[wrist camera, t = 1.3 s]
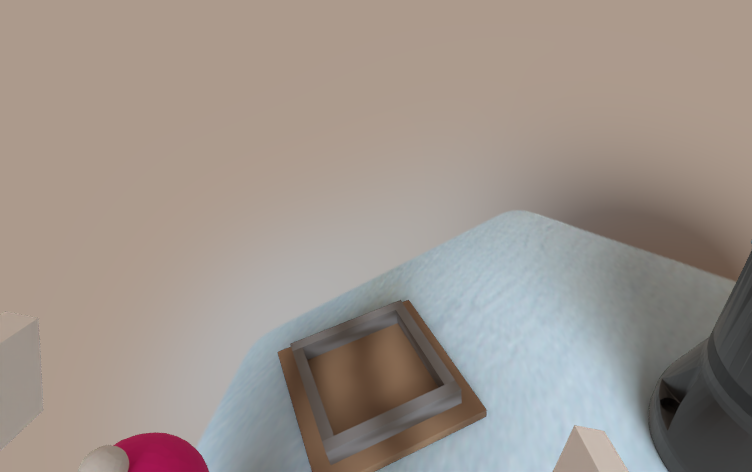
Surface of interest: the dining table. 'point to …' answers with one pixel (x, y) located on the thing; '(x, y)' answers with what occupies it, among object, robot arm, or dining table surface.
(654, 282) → the dining table surface
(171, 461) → the pepper mill
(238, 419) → the dining table surface
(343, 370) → the cruet board
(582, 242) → the dining table surface
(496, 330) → the dining table surface
